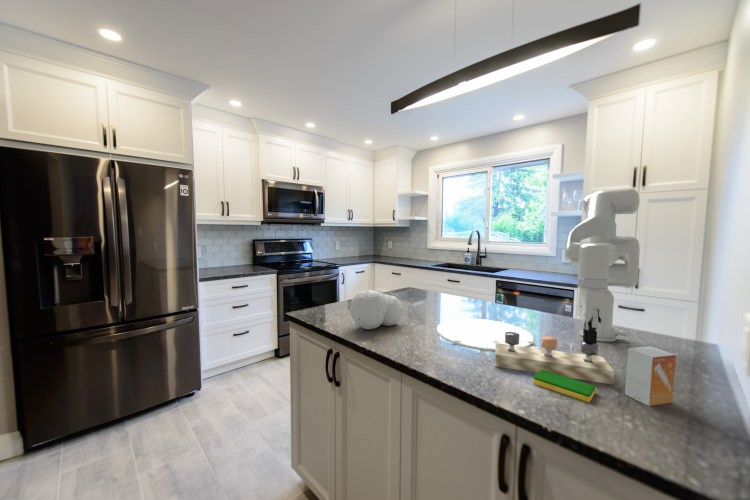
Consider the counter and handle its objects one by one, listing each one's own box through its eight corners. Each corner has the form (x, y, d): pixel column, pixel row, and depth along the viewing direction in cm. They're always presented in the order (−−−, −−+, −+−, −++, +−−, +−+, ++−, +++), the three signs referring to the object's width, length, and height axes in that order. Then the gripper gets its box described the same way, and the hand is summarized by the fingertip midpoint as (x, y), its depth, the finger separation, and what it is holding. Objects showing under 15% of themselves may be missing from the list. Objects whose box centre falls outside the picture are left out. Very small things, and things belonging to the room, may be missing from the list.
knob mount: (601, 368, 99) (602, 356, 99) (613, 384, 89) (614, 371, 89) (495, 353, 111) (495, 343, 111) (495, 366, 101) (495, 354, 101)
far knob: (518, 352, 105) (518, 332, 105) (519, 357, 101) (519, 336, 101) (504, 350, 107) (504, 331, 106) (504, 354, 103) (505, 335, 102)
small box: (649, 407, 78) (652, 357, 77) (624, 394, 84) (626, 347, 83) (673, 403, 80) (677, 354, 79) (647, 390, 86) (649, 345, 85)
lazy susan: (554, 353, 112) (555, 344, 112) (447, 352, 113) (448, 343, 113) (509, 321, 152) (509, 314, 152) (430, 320, 153) (430, 313, 153)
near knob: (594, 362, 97) (595, 341, 97) (599, 368, 93) (600, 346, 92) (578, 360, 99) (579, 339, 98) (581, 365, 95) (583, 344, 94)
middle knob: (554, 357, 101) (555, 336, 101) (557, 362, 97) (558, 341, 97) (539, 355, 103) (540, 335, 102) (541, 360, 99) (542, 339, 98)
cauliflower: (416, 309, 144) (391, 270, 144) (386, 341, 127) (357, 297, 126) (389, 319, 159) (366, 283, 159) (358, 349, 141) (332, 309, 141)
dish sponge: (541, 376, 95) (541, 369, 95) (595, 394, 85) (595, 385, 85) (532, 384, 90) (533, 376, 90) (589, 404, 80) (589, 395, 80)
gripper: (572, 279, 102) (570, 333, 104) (584, 287, 89) (581, 349, 90) (599, 281, 100) (596, 336, 101) (616, 289, 86) (612, 352, 87)
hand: (589, 342), depth 95 cm, fingers closed
